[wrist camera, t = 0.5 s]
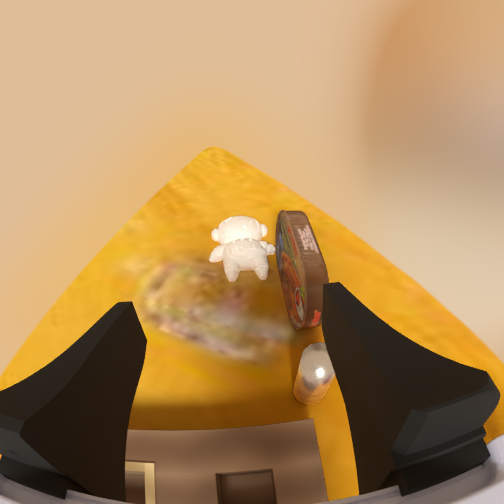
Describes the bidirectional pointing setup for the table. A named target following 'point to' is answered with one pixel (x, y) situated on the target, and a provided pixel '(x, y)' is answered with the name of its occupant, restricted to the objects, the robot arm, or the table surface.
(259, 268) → the astronaut figurine
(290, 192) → the table surface
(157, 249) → the table surface
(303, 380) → the pin
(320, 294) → the tin
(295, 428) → the bore block
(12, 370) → the table surface
